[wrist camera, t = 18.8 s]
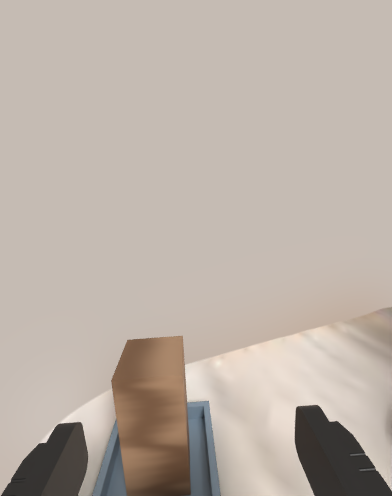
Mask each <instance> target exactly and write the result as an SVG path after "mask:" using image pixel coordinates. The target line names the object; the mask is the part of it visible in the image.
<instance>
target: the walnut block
mask: <svg viewBox="0 0 392 496" xmlns="http://www.w3.org/2000/svg"><path fill="white" fill-rule="evenodd" d="M111 382H112V389H113V396H114V404H115V411H116V418H117V426H118V433H119V441H120V448H121V455H122V463H123V470H124V477H125V485H126V492H127V496H186V495H191V483H190V447H189V425H188V410H187V395H186V379H185V364H184V350H183V336H174V337H160V338H147V339H134V340H127V343H126V345H125V348H124V350H123V353H122V355H121V358H120V360H119V363H118V365H117V368H116V370H115V373H114V375H113V378H112V380H111Z"/></svg>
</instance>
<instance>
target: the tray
mask: <svg viewBox="0 0 392 496" xmlns="http://www.w3.org/2000/svg"><path fill="white" fill-rule="evenodd" d="M187 410H188V425H189V447H190V483H191V495H186V496H221V495H220V487H219V479H218V471H217V463H216V455H215V447H214V439H213V431H212V423H211V415H210V407H209V401H202V402H190V403H187ZM92 496H127V492H126V485H125V477H124V470H123V463H122V455H121V448H120V441H119V433H118V426H117V418H116V421H115V424H114V427H113V431H112V434H111V437H110V440H109V443H108V447H107V450H106V453H105V456H104V459H103V463H102V466H101V469H100V472H99V476H98V479H97V482H96V485H95V488H94V492H93V495H92Z"/></svg>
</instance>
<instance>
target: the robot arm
mask: <svg viewBox="0 0 392 496" xmlns="http://www.w3.org/2000/svg"><path fill="white" fill-rule="evenodd" d="M295 445H296V450H297V453H298V457H299V460H300V462H301V464H302V467H303V469H304V471H305V474H306V476H307V479H308V481H309V483H310V486H311V488H312V490H313V493H314V495H315V496H392V491H391V489H390V488H389V487H388V485H387V484H386V482H385V481H384V479H383V478H382V476H381V475H380V474H379V472H378V471H376V469H375V466H374V465H373V463H372V462H371V461H370V459H369V458H368V456H366V455H365V452H364V450H363V449H362V447H361V446H360V445H359V443H358V442H357V440H356V439H355V437H354V436H353V435H352V434H351V433H350V432H349V431H348V430H347V429H346V428H344V427H343V426H342V425H341V424H340V423H339V422H338V421H335V422H329V420H328V419H327V417H326V416H325V414H324V412H323V411H322V409H321V408H320V407H319V406H318V405H310V406H298V407H297V408H296V419H295ZM87 464H88V452H87V446H86V441H85V436H84V431H83V426H82V423H81V422H76V423H63V424H58V425H57V426H56V427H55V429H54V430H53V432H52V434H51V435H50V437H49V439H48V441H47V442H46V443H39V444H38V445H37V446H36V447H35V448H34V449H33V451H32V452H31V453H30V454H29V455H28V456H27V457H26V458H25V459H24V460H23V461H22V463H21V465H20V466H19V468H18V469H17V471H16V473H15V474H14V476H13V477H12V479H11V482H10V483H9V484H8V485H7V487H6V489H5V490H4V492H3V493H2V495H1V496H78V493H79V490H80V488H81V485H82V482H83V480H84V477H85V474H86V470H87Z"/></svg>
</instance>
